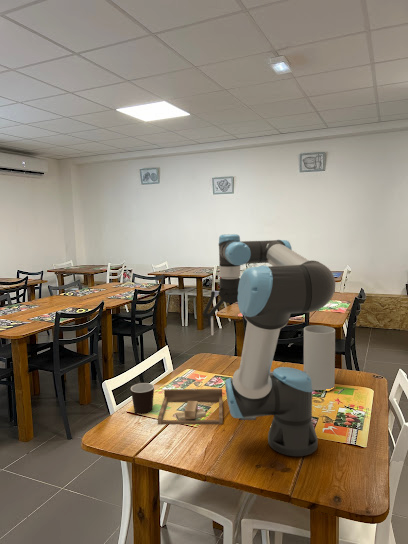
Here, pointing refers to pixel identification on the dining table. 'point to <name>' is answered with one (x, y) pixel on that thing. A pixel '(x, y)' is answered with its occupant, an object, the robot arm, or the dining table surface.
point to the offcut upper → (191, 409)
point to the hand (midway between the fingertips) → (230, 334)
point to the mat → (248, 418)
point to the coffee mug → (142, 397)
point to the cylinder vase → (320, 356)
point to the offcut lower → (182, 417)
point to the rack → (191, 395)
